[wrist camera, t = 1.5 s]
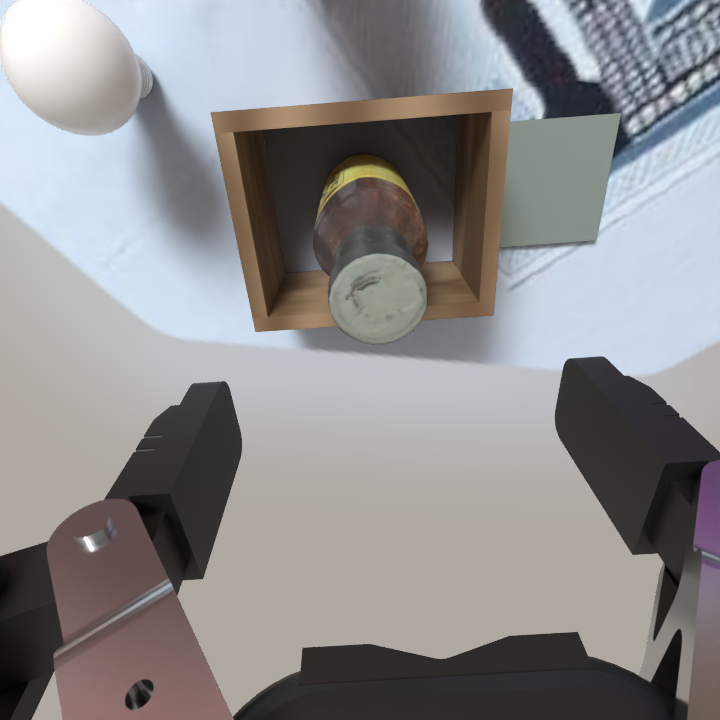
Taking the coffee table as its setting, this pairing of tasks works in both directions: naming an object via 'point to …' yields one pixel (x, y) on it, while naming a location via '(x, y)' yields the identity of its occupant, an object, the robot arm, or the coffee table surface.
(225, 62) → the coffee table surface
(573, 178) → the pad
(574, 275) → the coffee table surface
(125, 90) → the lightbulb
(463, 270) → the crate
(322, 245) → the sauce bottle
